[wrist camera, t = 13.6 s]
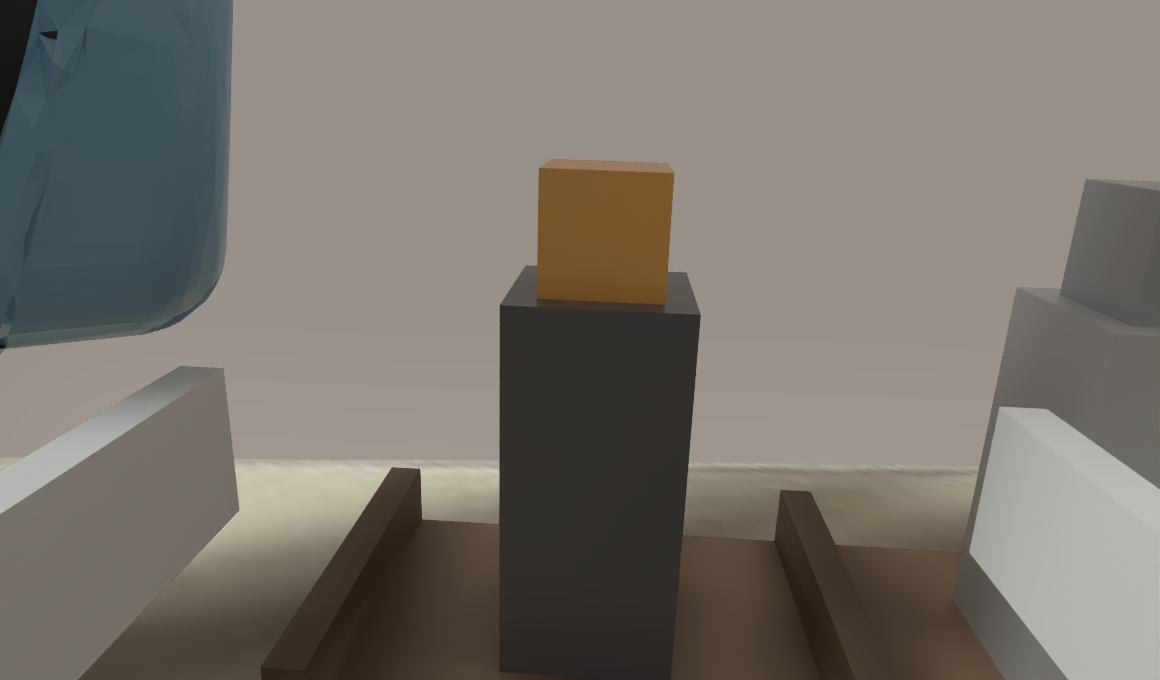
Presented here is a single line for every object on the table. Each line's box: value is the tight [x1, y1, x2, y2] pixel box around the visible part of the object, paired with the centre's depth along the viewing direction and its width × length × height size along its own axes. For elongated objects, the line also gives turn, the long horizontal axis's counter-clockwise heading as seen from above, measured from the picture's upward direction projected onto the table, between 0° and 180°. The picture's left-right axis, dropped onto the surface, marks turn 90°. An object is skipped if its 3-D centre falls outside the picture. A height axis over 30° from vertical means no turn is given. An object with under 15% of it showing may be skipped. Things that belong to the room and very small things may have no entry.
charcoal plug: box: [499, 159, 701, 680], centre depth 20 cm, size 4×4×13 cm
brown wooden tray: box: [261, 467, 1005, 680], centre depth 22 cm, size 28×10×3 cm, turn 86°
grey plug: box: [952, 179, 1160, 680], centre depth 20 cm, size 4×4×13 cm
